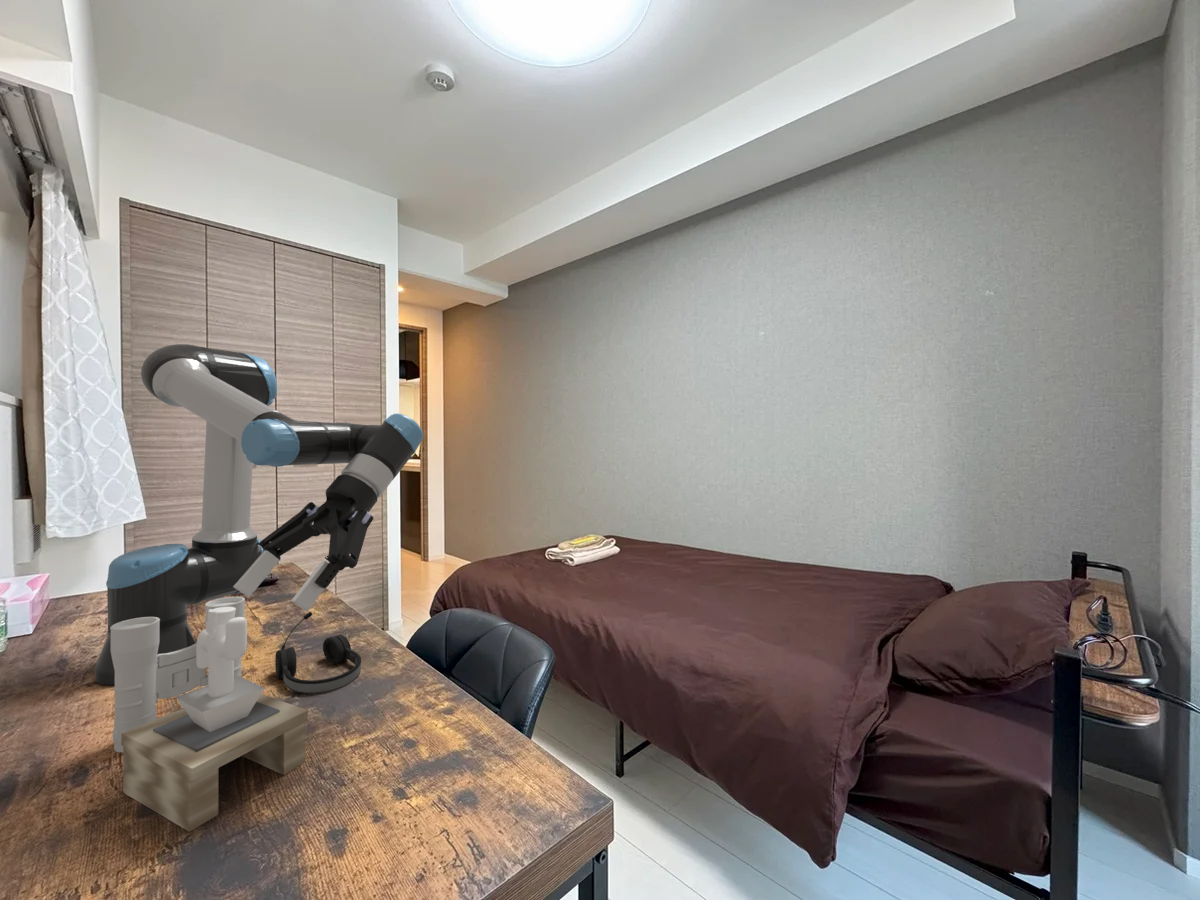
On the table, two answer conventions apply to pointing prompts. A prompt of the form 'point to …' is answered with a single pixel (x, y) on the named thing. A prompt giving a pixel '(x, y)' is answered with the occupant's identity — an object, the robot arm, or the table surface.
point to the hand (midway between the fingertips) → (268, 599)
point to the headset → (334, 652)
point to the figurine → (221, 673)
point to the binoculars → (154, 669)
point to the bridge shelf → (206, 757)
